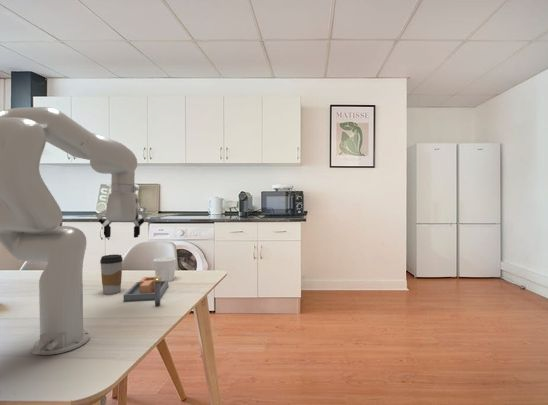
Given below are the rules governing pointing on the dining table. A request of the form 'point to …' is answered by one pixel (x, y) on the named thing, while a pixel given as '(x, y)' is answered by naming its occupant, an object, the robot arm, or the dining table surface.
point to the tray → (136, 296)
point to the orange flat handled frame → (147, 285)
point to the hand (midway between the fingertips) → (122, 237)
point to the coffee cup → (111, 273)
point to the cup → (165, 268)
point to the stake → (157, 291)
